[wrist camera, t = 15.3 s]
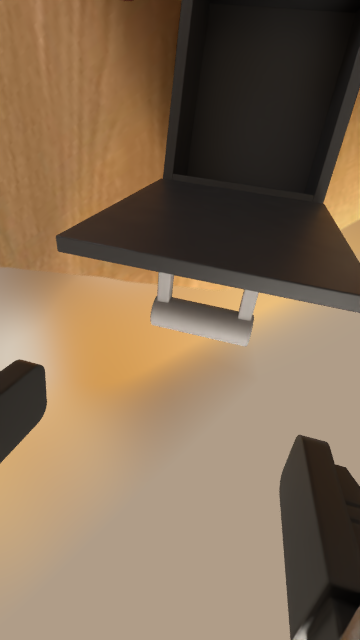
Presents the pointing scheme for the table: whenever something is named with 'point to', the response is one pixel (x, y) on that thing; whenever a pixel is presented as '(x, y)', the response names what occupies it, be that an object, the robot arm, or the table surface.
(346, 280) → the box lid
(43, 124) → the table surface
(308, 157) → the black open box
